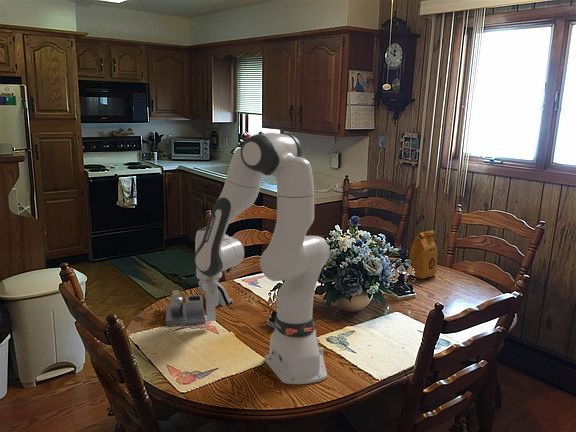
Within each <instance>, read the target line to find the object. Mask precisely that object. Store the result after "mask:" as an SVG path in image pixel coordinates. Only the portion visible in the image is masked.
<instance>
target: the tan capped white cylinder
mask: <svg viewBox="0 0 576 432" xmlns="http://www.w3.org/2000/svg"><path fill="white" fill-rule="evenodd" d="M212 294H213V293H212ZM202 296H203V299H206V296H205V291H204V290H203V295H202ZM216 316H217V315H216V306H214V312H213V313H210V312H209V306H208V305H207V301H206V300H205V317H206V323H207V322H215V321H216V319H217V317H216Z"/></svg>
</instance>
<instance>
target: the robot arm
mask: <svg viewBox="0 0 576 432" xmlns="http://www.w3.org/2000/svg"><path fill="white" fill-rule="evenodd" d="M302 155H303V147H302V144H301V142H300V140H299V139H298V138H297V137H295V135H292V134H289V133H275V132H267V133H262V134H259V133H257V134H253V135H251V136H248V138H246V139H245V140H244V141H243V142H242V144H241V147H238V148H236V150H235V151H234V152H233V155H232V157H231V160H230V163H229V166H228V169H227V171H226V177H225V181H224V185H223V188H222V191H221V193H220V195H219V197H218V199H217V200H216V201H215V203H214V205H213V208H212V210H211V212H210V216H209V219H208V222H207V225H206V226H205V227H200V228H199V229H198V230H197V231H196V234H195V241H194V242H195V243H194V244H195V246H194V248H195V253H194V264H195V267H196V278H197V279H198V280H199V281H201V282H202V286H203V289H204V291H205V296H206V298H205V302H206V301H207V305H208V306H209V312H210V313H213V312H214V306H215V307H217V306H219V304H218V287H217V283H216V282H218V283H219V280H220V279H221V278H222V277H223V271H226V270H228V269H231V268H232V267H235V266H237V265H240V264H241V263H242V262H244V261H243V260H244V259H245V254H246V253H245V252H246V250H245V246H244V244H243V242H242V241H240V240H239V239H238V238H236V237H235V238H234V237H233V236H232V237H231V236H229V235H228V234H226V232H227V229H228V227H229V225H230V223H231V222H232V220H234V219H235V218H236V217H237V216H238V215H240V214H241V213H242V212H244V211H246V210H247V209H249V208H250V207H251V206H253V205H254V203H255V202H256V200H257V198H258V195H259V194H260V189H261V183H262V178H263V175H266V176H271V175H273V176H274V178H275V179H276V223H275V226H274V231H273V233H272V236H271V240H270V242H269V244H268V246H267V247H266V249H265V250H264V251H263V252H262V254H261V256H260V261H259V264H260V269H261V272H262V274H263V276H265V277H266V278H267V279H268V280H270V281H272V282H283V281H284V282H283V284H282V285H281V286H280V287H279V290H278V292H277V295H276V299H277V300H276V303H277V304H276V315H275V318H274V323H275V324H274V327H275V329H274V331H273V332H272V333H271V334H270V339H269V340H270V341H269V353H268V354H266V355H265V356H264V359H263V360H264V362H265V363H266V365H267V366H268V367H269V368H270V369H271V371H273V372H274V374H275V375H276V376H277V378H278V379H279V380H280V381H281V382H282V383H284V384H287V385H306V384H307V385H308V384H314V383H319V382H321V381H324V380H325V379H327V378H328V372H327V368H326V365H325V364H326V363H325V359H324V353H325V350H324V347H321V346H319V343H320V338H319V337H317V334H316V333H317V330H316V329H315V320H314V315H313V307H314V305H313V304H314V294H315V291H316V286H317V283H318V280H319V277H320V274H321V271H322V269H323V267H324V266H325V265H326V264H327V262H328V261H329V258H330V254H331V253H330V252H331V251H330V247H329V244H328V243H327V240H326V239H324V238H323V237H321V236H319V235H307V232H308V231H309V229H310V227H312V224H313V223H314V221H315V181H314V175H313V169H312V165H311V163H310V161H308V160H307V159H306V158H304V157H302ZM212 293H213V294H212Z"/></svg>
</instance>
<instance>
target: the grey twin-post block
mask: <svg viewBox="0 0 576 432" xmlns="http://www.w3.org/2000/svg"><path fill="white" fill-rule="evenodd" d="M183 300H184V299H183V295H181V294H180V290H179V289H178V290H177V289H176V290H172V296H170V305H165V322H166V327H174V326H173V325H177V326H184V325H183V324H188V325H198V324H207V319H206V311H205V309H204V297H203V295H202V294H195V295H186V296H185V303H184V302H183ZM197 323H198V324H197Z"/></svg>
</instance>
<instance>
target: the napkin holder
mask: <svg viewBox="0 0 576 432" xmlns="http://www.w3.org/2000/svg"><path fill="white" fill-rule="evenodd" d="M197 283H198V286H199V289H200V293H201V294H200V295H202V296H204V295H203V290H204V289H203V286H202V282H201V281H200V280H199V281H198V282H197ZM216 283H217V287H218V305H220V306H222V307H225V306H226V307H227V304H230V303H231V304H234V300H233V298H230V297H229V295H228V292H227V290H226V288H225V286H223V284H221V283H220V282H219V281H218V282H216Z"/></svg>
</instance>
